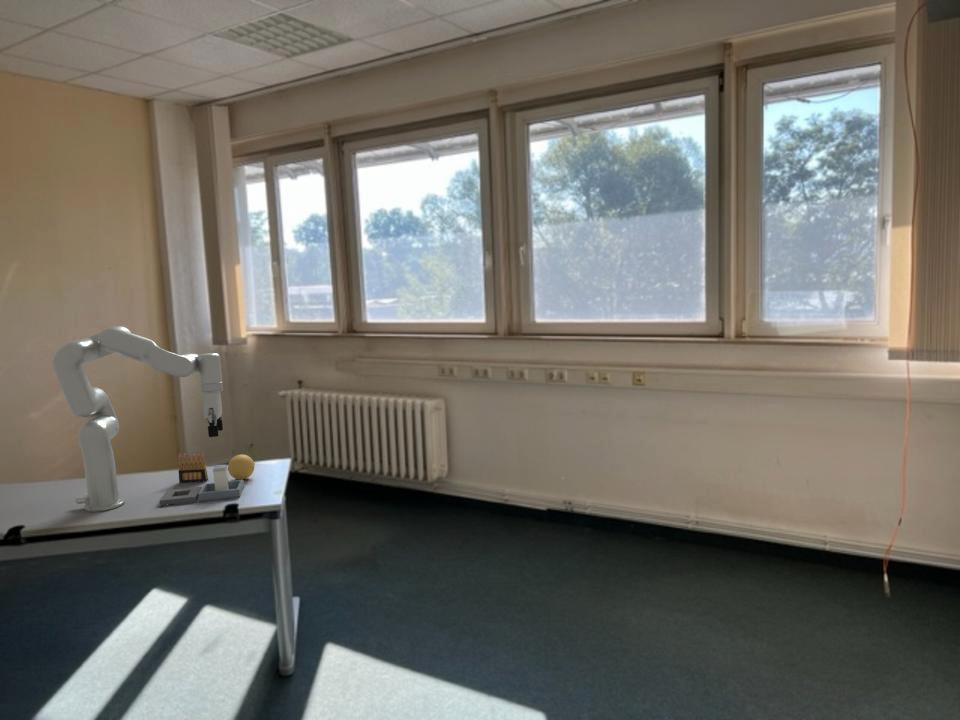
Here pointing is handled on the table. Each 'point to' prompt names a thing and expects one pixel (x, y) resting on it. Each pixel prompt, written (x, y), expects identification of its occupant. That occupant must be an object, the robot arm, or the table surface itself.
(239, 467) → the stress ball
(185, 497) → the frame
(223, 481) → the fuse
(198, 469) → the ammunition clip
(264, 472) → the table surface
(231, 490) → the parts tray
